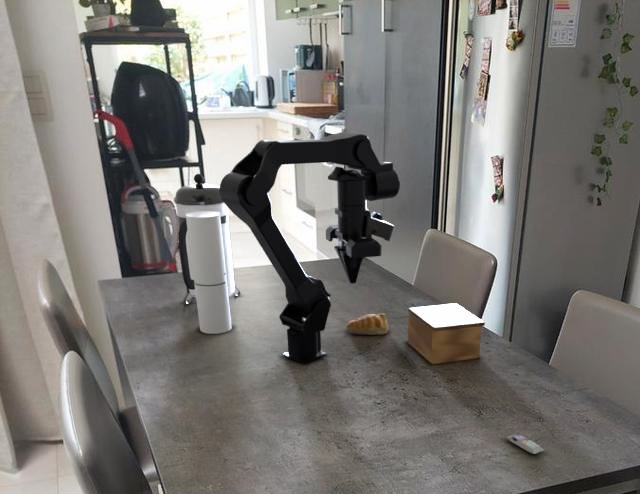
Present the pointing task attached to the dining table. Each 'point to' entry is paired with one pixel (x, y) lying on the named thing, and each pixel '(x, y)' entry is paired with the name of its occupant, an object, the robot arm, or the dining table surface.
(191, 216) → the cylindrical container
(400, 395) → the dining table surface
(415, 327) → the caddy
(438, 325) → the lid
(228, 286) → the coffee press
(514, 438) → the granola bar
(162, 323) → the dining table surface
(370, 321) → the pastry
